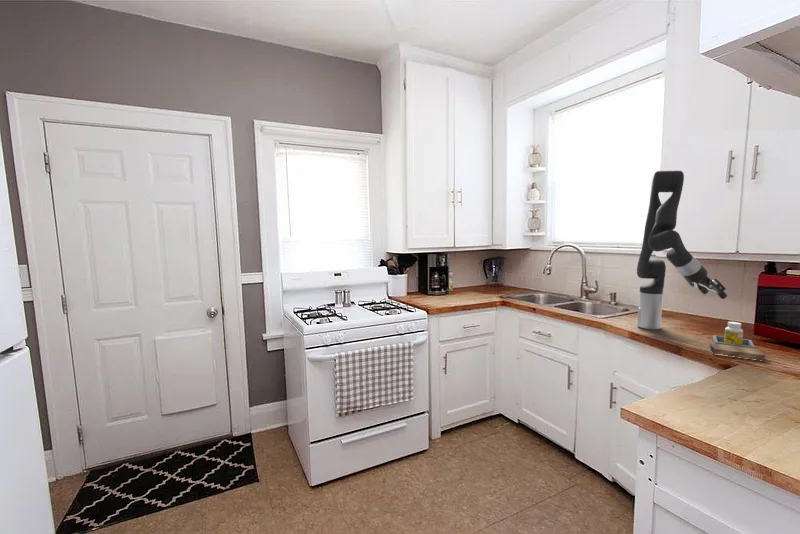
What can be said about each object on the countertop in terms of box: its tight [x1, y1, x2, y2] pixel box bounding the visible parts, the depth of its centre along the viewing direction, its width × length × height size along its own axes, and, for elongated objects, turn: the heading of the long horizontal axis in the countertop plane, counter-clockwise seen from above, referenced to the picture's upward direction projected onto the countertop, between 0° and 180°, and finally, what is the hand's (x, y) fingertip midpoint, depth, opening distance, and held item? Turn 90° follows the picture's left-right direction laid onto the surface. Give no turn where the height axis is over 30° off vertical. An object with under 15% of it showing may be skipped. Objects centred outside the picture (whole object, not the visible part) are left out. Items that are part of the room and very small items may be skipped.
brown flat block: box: [709, 342, 766, 362], centre depth 138 cm, size 14×8×2 cm, turn 57°
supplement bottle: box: [724, 321, 744, 345], centre depth 146 cm, size 5×5×10 cm
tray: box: [712, 334, 756, 348], centre depth 146 cm, size 12×12×2 cm
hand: (715, 295), depth 148 cm, fingers open, 8 cm apart
